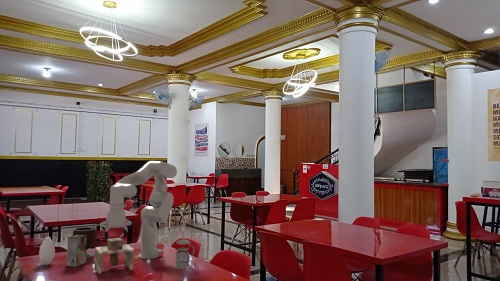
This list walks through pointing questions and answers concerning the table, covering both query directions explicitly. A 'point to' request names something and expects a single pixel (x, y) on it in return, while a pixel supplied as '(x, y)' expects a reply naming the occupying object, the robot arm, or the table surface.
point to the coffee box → (76, 250)
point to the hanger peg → (114, 245)
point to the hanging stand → (104, 250)
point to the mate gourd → (90, 237)
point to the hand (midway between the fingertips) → (115, 237)
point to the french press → (183, 254)
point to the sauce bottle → (47, 251)
